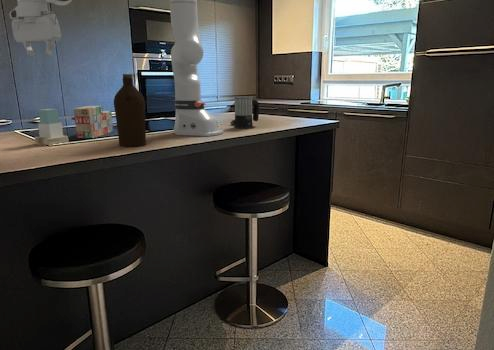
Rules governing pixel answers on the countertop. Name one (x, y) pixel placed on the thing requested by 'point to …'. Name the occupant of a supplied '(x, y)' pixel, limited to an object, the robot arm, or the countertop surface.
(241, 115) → the milk frother
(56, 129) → the white block
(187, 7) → the robot arm
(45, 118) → the teal block
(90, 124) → the stack of blocks
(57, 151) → the countertop surface
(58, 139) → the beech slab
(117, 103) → the olive oil
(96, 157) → the countertop surface
